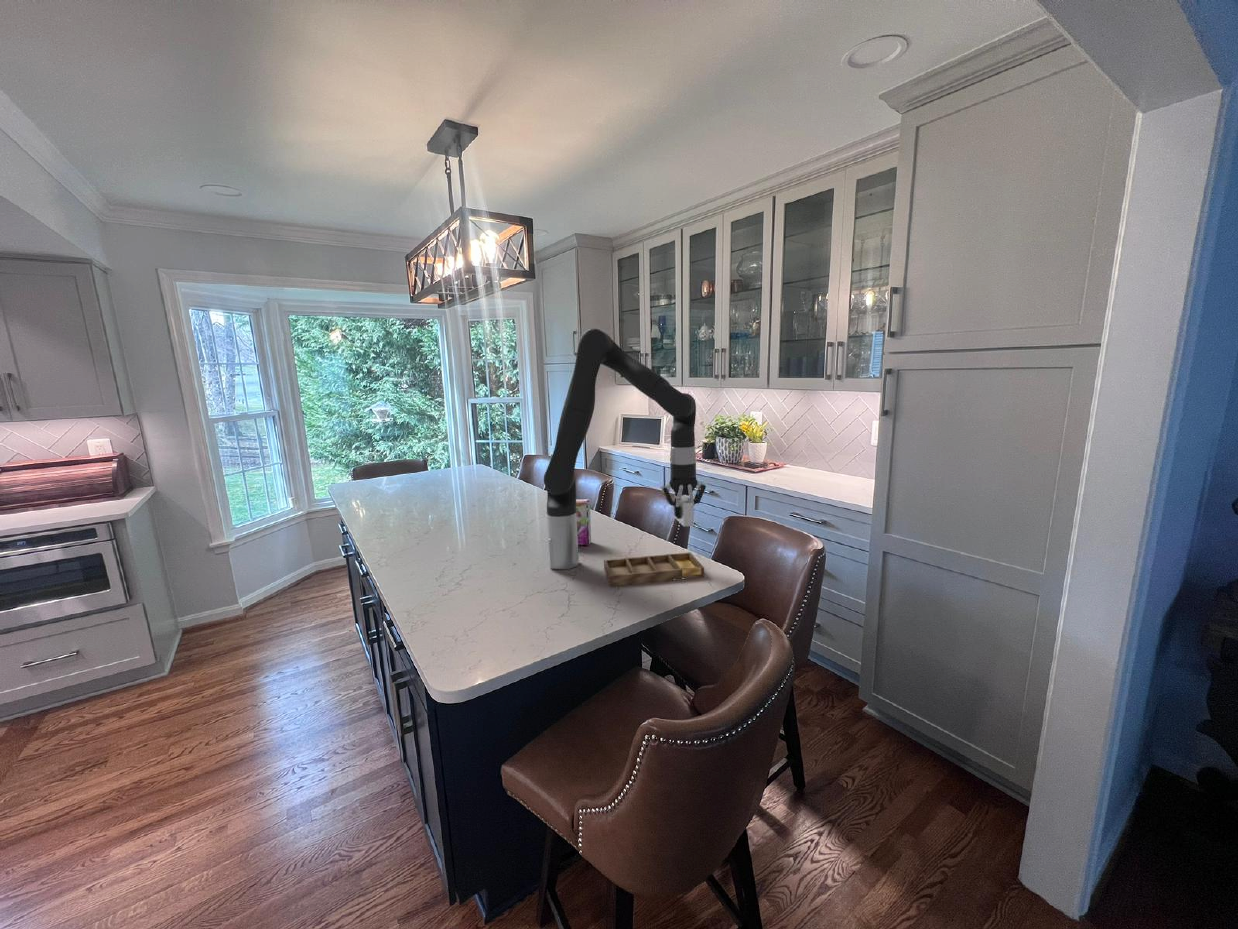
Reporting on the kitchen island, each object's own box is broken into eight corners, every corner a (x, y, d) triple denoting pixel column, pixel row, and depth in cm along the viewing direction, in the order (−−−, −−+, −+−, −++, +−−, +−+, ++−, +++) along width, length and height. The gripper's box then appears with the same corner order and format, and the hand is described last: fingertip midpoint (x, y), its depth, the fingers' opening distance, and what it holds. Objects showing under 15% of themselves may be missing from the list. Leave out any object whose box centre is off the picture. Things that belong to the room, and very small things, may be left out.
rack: (610, 586, 142) (609, 576, 141) (604, 569, 155) (603, 560, 155) (704, 577, 146) (704, 567, 145) (690, 561, 160) (690, 552, 159)
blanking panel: (683, 526, 145) (683, 503, 144) (674, 517, 155) (674, 495, 154) (693, 525, 145) (693, 502, 144) (684, 517, 155) (683, 495, 154)
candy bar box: (559, 546, 179) (556, 502, 176) (562, 542, 184) (559, 499, 181) (589, 546, 178) (587, 501, 175) (591, 542, 183) (589, 498, 180)
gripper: (663, 464, 142) (664, 523, 145) (710, 461, 144) (710, 519, 147) (657, 461, 150) (658, 516, 152) (701, 458, 152) (702, 513, 154)
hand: (684, 517), depth 150 cm, fingers closed on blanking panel, 3 cm apart
